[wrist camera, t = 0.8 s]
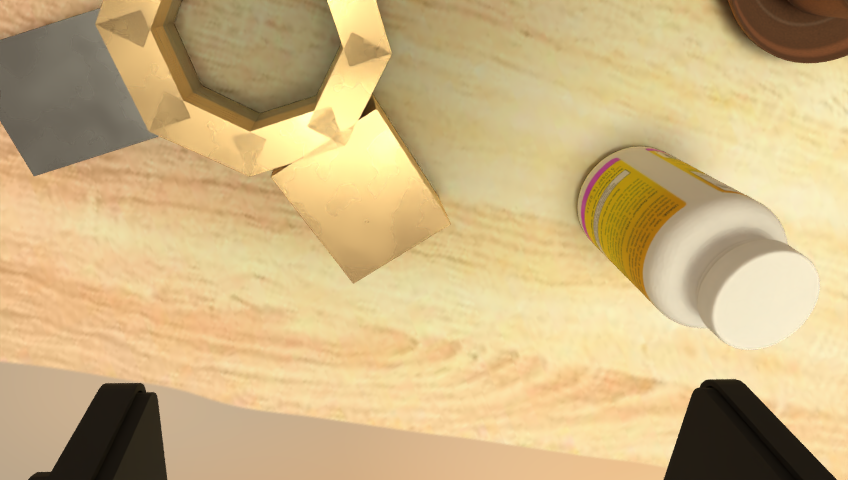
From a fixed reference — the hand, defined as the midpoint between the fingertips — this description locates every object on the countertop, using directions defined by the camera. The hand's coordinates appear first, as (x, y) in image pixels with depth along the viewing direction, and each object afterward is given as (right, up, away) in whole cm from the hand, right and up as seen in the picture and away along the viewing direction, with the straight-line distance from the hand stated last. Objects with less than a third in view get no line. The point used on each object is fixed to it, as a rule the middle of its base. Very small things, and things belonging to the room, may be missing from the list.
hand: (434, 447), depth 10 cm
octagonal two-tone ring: (-10, +10, +21) cm, 25 cm away
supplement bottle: (+12, +6, +26) cm, 29 cm away
